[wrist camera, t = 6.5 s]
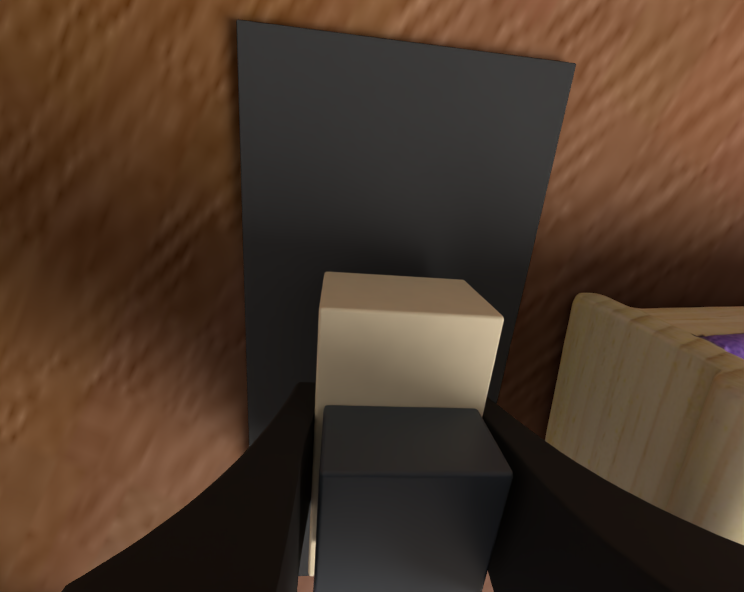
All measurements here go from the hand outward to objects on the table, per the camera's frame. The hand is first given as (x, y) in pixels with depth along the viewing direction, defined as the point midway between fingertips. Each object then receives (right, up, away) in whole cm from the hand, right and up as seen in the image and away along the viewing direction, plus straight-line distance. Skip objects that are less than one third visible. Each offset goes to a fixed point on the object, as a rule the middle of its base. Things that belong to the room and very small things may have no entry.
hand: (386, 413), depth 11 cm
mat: (0, +1, +2) cm, 2 cm away
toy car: (0, 0, +1) cm, 1 cm away
